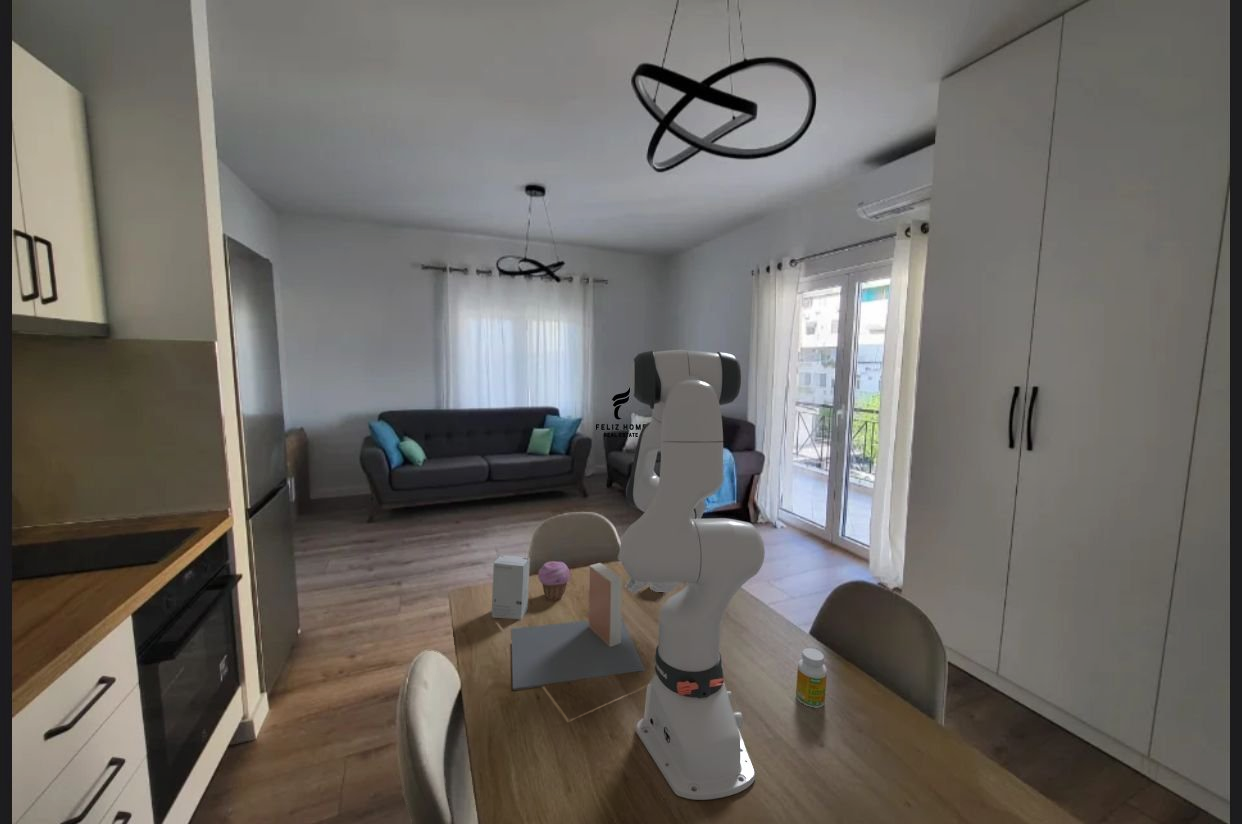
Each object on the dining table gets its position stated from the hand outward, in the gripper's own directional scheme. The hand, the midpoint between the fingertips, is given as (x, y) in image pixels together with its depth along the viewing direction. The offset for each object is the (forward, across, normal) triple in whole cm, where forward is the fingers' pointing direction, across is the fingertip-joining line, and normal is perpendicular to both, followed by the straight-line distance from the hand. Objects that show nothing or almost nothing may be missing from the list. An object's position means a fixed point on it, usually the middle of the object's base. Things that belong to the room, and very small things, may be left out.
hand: (629, 590), depth 119 cm
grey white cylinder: (-7, -12, +21) cm, 25 cm away
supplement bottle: (-5, +41, +18) cm, 45 cm away
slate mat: (+18, +1, -5) cm, 19 cm away
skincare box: (+23, -21, -9) cm, 33 cm away
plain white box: (+12, 0, +1) cm, 12 cm away
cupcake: (+14, -24, 0) cm, 27 cm away
